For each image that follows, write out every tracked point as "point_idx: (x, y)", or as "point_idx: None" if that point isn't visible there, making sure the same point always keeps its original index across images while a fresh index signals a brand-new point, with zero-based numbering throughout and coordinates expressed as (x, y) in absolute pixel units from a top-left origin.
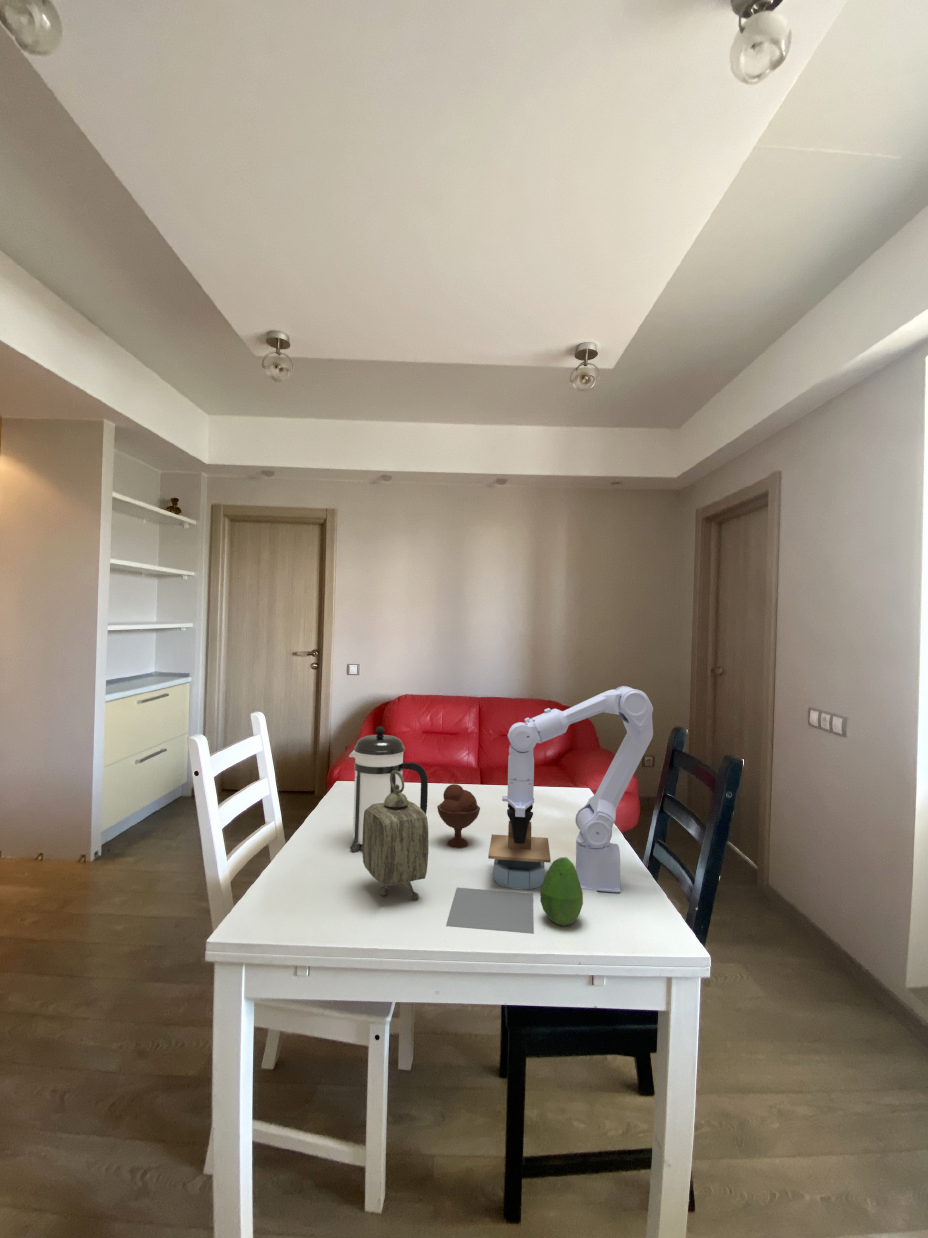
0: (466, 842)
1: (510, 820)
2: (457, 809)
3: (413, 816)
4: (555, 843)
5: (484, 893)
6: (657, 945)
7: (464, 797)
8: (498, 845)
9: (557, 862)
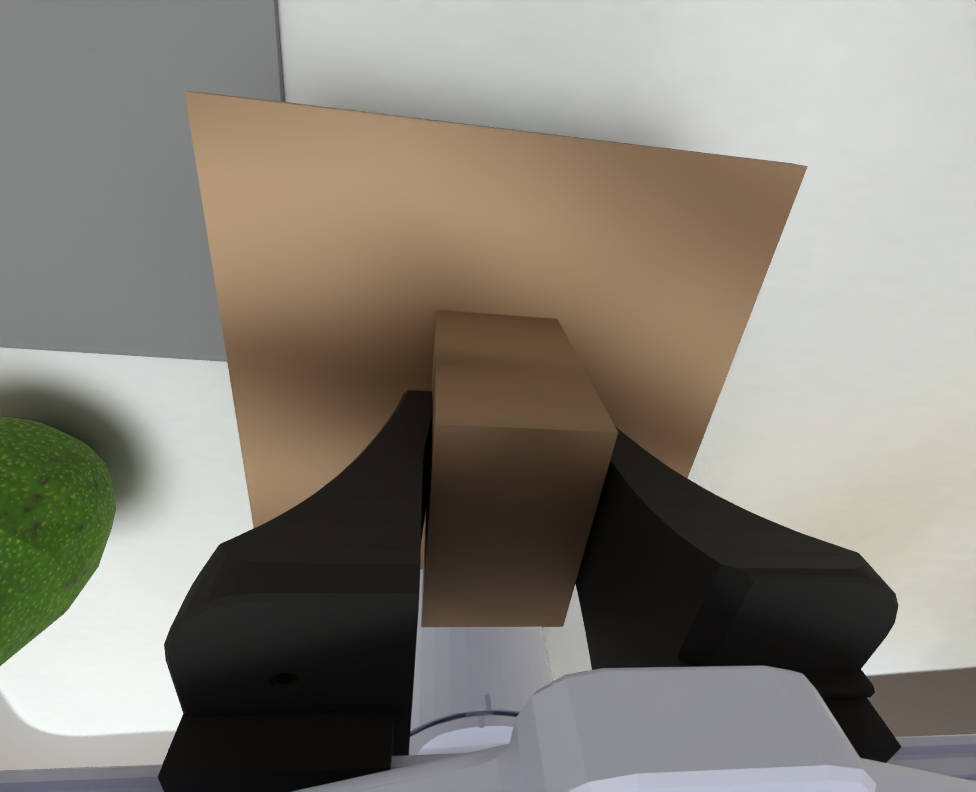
0: None
1: (283, 516)
2: None
3: None
4: (902, 500)
5: (216, 65)
6: (47, 678)
7: None
8: (498, 224)
9: None
